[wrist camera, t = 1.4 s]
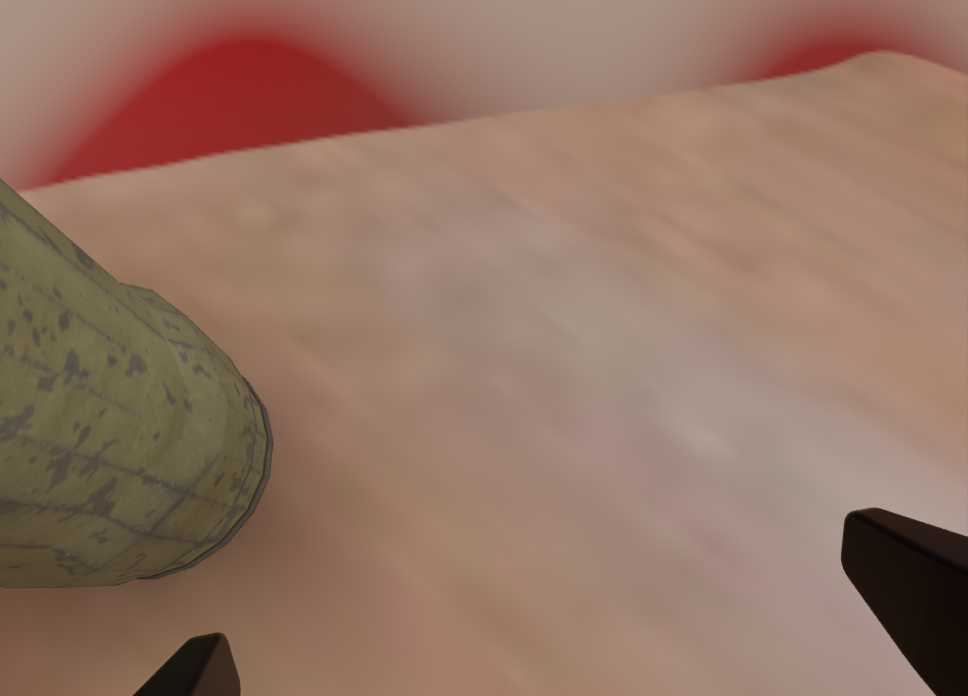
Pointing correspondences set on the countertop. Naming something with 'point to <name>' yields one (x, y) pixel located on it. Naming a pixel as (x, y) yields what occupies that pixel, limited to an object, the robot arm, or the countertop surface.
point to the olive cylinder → (112, 422)
